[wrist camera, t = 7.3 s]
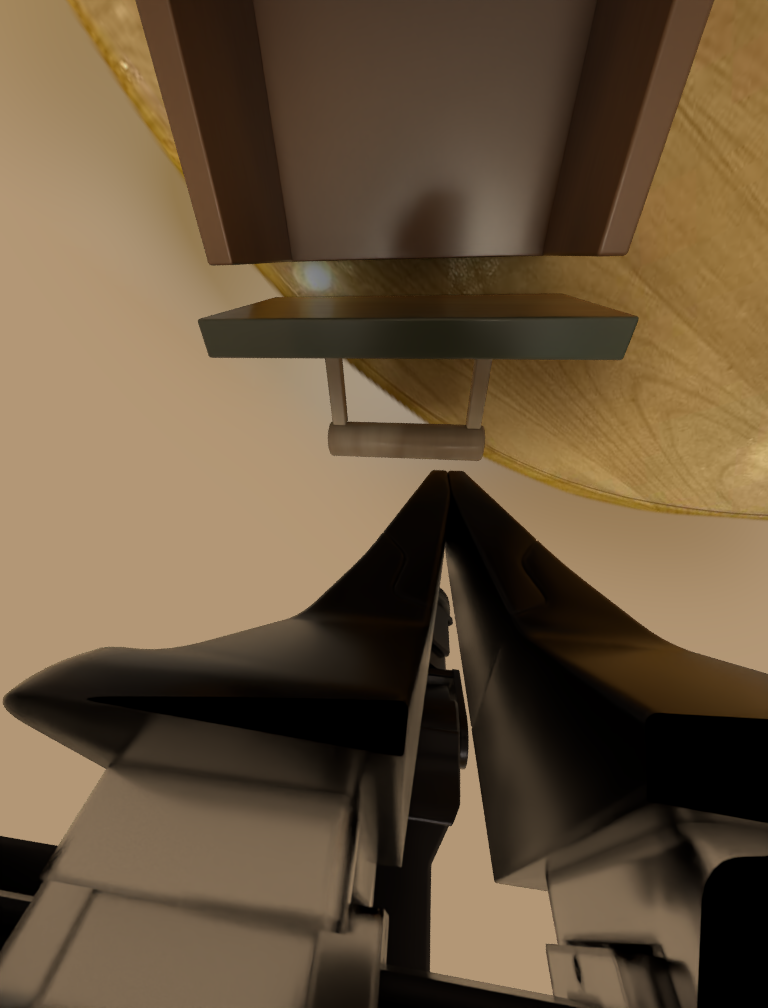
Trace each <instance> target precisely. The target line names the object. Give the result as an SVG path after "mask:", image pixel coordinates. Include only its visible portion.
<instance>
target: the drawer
mask: <svg viewBox="0 0 768 1008" xmlns="http://www.w3.org/2000/svg"><path fill="white" fill-rule="evenodd" d="M713 2H714V0H136V4H137V8H138V11H139V15H140V18H141V22H142V26H143V29H144V33H145V36H146V40H147V44H148V47H149V51H150V54H151V58H152V62H153V65H154V69H155V72H156V76H157V80H158V83H159V87H160V90H161V94H162V98H163V101H164V105H165V108H166V112H167V116H168V119H169V123H170V126H171V130H172V134H173V137H174V141H175V144H176V148H177V152H178V155H179V159H180V162H181V166H182V170H183V173H184V177H185V180H186V184H187V188H188V191H189V195H190V198H191V202H192V206H193V209H194V213H195V216H196V220H197V224H198V227H199V231H200V235H201V238H202V242H203V245H204V249H205V253H206V256H207V260H208V263H209V264H210V265H240V264H258V263H275V262H295V261H337V260H379V259H421V258H463V257H505V256H624V255H626V254H627V253H628V251H629V248H630V245H631V242H632V239H633V236H634V233H635V230H636V227H637V224H638V221H639V218H640V216H641V213H642V210H643V207H644V204H645V201H646V198H647V195H648V192H649V189H650V186H651V183H652V180H653V177H654V175H655V172H656V169H657V166H658V163H659V160H660V157H661V154H662V151H663V148H664V145H665V142H666V139H667V136H668V134H669V131H670V128H671V125H672V122H673V119H674V116H675V113H676V110H677V107H678V104H679V101H680V98H681V95H682V93H683V90H684V87H685V84H686V81H687V78H688V75H689V72H690V69H691V66H692V63H693V60H694V57H695V55H696V52H697V49H698V46H699V43H700V40H701V37H702V34H703V31H704V28H705V25H706V22H707V19H708V16H709V14H710V11H711V8H712V5H713ZM637 322H638V317H637V316H634V315H631V314H628V313H624V312H621V311H618V310H614V309H611V308H608V307H604V306H601V305H598V304H594V303H591V302H588V301H585V300H581V299H578V298H575V297H571V296H568V295H565V294H498V295H420V296H342V297H275V298H272V299H268V300H265V301H261V302H258V303H254V304H250V305H247V306H243V307H240V308H236V309H233V310H229V311H226V312H222V313H219V314H215V315H211V316H208V317H205V318H201V319H199V320H198V323H199V327H200V330H201V333H202V336H203V339H204V342H205V345H206V348H207V351H208V355H209V356H210V357H212V358H325V362H326V370H327V378H328V387H329V395H330V403H331V411H332V420H333V422H331V424H330V426H329V431H328V446H329V450H330V453H331V454H332V455H334V456H335V455H336V456H361V457H388V458H416V459H443V460H444V459H445V460H471V461H479V460H481V458H482V456H483V451H484V445H485V430H484V427H483V426H482V425H481V423H482V417H483V411H484V406H485V400H486V394H487V388H488V382H489V376H490V370H491V364H492V359H510V360H621V359H623V358H624V355H625V353H626V350H627V347H628V345H629V342H630V340H631V337H632V335H633V332H634V330H635V327H636V325H637ZM342 358H351V359H475V360H474V368H473V375H472V382H471V389H470V396H469V404H468V411H467V418H466V425H453V424H414V423H412V424H411V423H376V422H347V421H348V417H347V406H346V396H345V384H344V373H343V364H342V363H343V362H342Z"/></svg>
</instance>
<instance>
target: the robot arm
mask: <svg viewBox="0 0 768 1008" xmlns="http://www.w3.org/2000/svg"><path fill="white" fill-rule="evenodd" d="M444 549H445V551H446V559H447V566H448V573H449V579H450V586H451V593H452V600H453V607H454V613H455V620H456V627H457V633H458V640H459V647H460V654H461V660H462V667H463V674H464V680H465V687H466V694H467V701H468V707H469V714H470V721H471V726H472V735H473V741H474V748H475V755H476V761H477V768H478V775H479V782H480V788H481V795H482V802H483V809H484V815H485V822H486V828H487V835H488V841H489V849H490V855H491V862H492V868H493V875H494V881H495V882H496V883H499V884H505V885H512V886H518V887H524V888H530V889H537V890H544V891H548V894H549V899H550V905H551V910H552V916H553V921H554V926H555V932H556V937H557V943H558V945H556V944H546V954H547V960H548V966H549V972H550V978H551V984H552V989H553V996H552V995H547V994H542V993H537V992H531V991H526V990H521V989H516V988H510V987H505V986H500V985H495V984H490V983H484V982H479V981H474V980H469V979H463V978H458V977H453V976H448V975H442V974H437V973H431V972H430V905H431V900H430V899H431V864H432V862H433V859H434V857H435V855H436V853H437V851H438V848H439V846H440V844H441V842H442V840H443V838H444V835H445V833H446V831H447V829H448V827H449V826H452V824H453V822H454V820H455V817H456V815H457V812H458V809H459V806H460V769H465V768H466V765H467V759H468V723H467V715H466V709H465V703H464V697H463V691H462V685H461V679H460V673H459V670H455V669H452V670H446V665H445V657H447V656H448V655H449V653H450V651H449V631H448V626H450V625H452V624H453V622H452V618H451V617H450V616H449V615H448V613H447V612H446V611H445V610H444V609H443V608H442V607H441V606H440V605H439V604H438V603H437V602H438V594H439V587H440V580H441V572H442V565H443V558H444ZM3 705H4V707H5V708H6V710H7V711H8V712H10V714H12V715H13V716H14V717H15V718H17V719H18V720H20V721H22V722H23V723H25V724H27V725H28V726H30V727H32V728H34V729H35V730H37V731H39V732H41V733H43V734H45V735H46V736H48V737H50V738H52V739H54V740H55V741H57V742H59V743H61V744H62V745H64V746H66V747H68V748H70V749H71V750H73V751H75V752H77V753H79V754H80V755H82V756H84V757H86V758H88V759H89V760H91V761H93V762H95V763H97V764H98V765H100V766H102V767H104V768H105V769H106V770H105V772H104V774H103V775H102V777H101V778H100V780H99V781H98V783H97V785H96V786H95V788H94V790H93V791H92V793H91V794H90V796H89V798H88V799H87V801H86V803H85V804H84V806H83V807H82V809H81V810H80V812H79V813H78V815H77V817H76V818H75V820H74V822H73V823H72V825H71V826H70V828H69V830H68V831H67V833H66V834H65V836H64V837H63V839H62V841H61V842H60V844H59V845H58V846H55V845H49V844H43V843H38V842H32V841H26V840H20V839H14V838H8V837H3V836H0V1008H768V674H766V673H763V672H759V671H756V670H753V669H749V668H746V667H742V666H739V665H735V664H732V663H728V662H725V661H721V660H718V659H715V658H711V657H708V656H704V655H701V654H698V653H694V652H691V651H688V650H686V649H683V648H681V647H678V646H676V645H674V644H672V643H670V642H668V641H666V640H664V639H662V638H660V637H659V636H657V635H655V634H654V633H652V632H651V631H649V630H648V629H647V628H645V627H644V626H642V625H641V624H640V623H638V622H637V621H636V620H634V619H633V618H632V617H631V616H629V615H628V614H627V613H625V612H624V611H623V610H622V609H620V608H619V607H618V606H616V605H615V604H614V603H612V602H611V601H610V600H609V599H607V598H606V597H605V596H603V595H602V594H601V593H600V592H598V591H597V590H596V589H594V588H593V587H592V586H590V585H589V584H588V583H587V582H585V581H584V580H583V579H581V578H580V577H579V576H578V575H577V574H575V573H574V572H573V571H572V570H570V569H569V568H568V567H567V566H565V565H564V564H563V563H562V562H561V561H560V560H558V559H557V558H556V557H555V556H554V555H553V554H552V553H551V552H550V551H548V550H547V549H546V548H545V547H544V546H543V545H542V544H541V543H540V542H539V541H536V539H535V538H534V537H533V536H532V535H531V534H530V533H529V532H528V531H527V530H526V529H525V528H524V527H523V526H521V525H520V524H519V523H518V522H517V521H516V520H515V519H514V518H513V517H512V516H511V515H509V513H507V512H506V511H505V510H504V509H503V508H502V507H501V506H500V505H499V504H498V503H497V502H496V501H495V500H494V499H493V498H491V497H490V496H489V495H488V494H487V493H486V492H485V491H484V490H483V489H482V488H481V487H480V486H479V485H478V484H476V483H475V482H474V481H473V480H472V479H471V478H470V477H469V476H468V475H467V474H466V473H465V472H463V471H449V472H448V473H447V472H446V471H443V470H442V471H441V470H433V471H431V472H430V474H429V475H428V476H427V477H426V479H425V480H424V481H423V483H422V484H421V485H420V486H419V488H418V489H417V490H416V491H415V493H414V494H413V495H412V497H411V498H410V499H409V500H408V502H407V503H406V504H405V505H404V507H403V508H402V509H401V510H400V512H399V513H398V514H397V516H396V517H395V518H394V520H393V521H392V522H391V523H390V525H389V526H388V527H387V528H386V530H385V531H384V533H382V534H381V536H380V537H379V538H378V539H377V541H376V542H375V543H374V544H373V545H372V547H371V548H370V549H369V550H368V551H367V553H366V554H365V555H364V556H363V557H362V558H361V559H360V560H359V561H358V562H357V563H356V564H355V565H354V566H353V567H352V568H351V569H350V570H349V571H347V572H346V573H345V574H344V575H343V576H342V577H341V578H340V579H339V580H338V581H337V582H336V583H335V584H334V585H333V586H332V587H331V588H329V589H328V590H327V591H326V592H325V593H324V594H323V595H322V596H321V597H320V598H319V599H318V600H317V601H316V602H314V603H313V604H312V605H311V606H310V607H308V608H307V609H306V610H304V611H303V612H301V613H299V614H298V615H296V616H294V617H291V618H289V619H286V620H282V621H278V622H274V623H271V624H267V625H264V626H260V627H256V628H253V629H249V630H245V631H241V632H238V633H234V634H230V635H227V636H223V637H219V638H216V639H212V640H208V641H205V642H201V643H196V644H192V645H187V646H182V647H175V648H167V649H136V648H126V647H105V648H99V649H96V650H92V651H89V652H86V653H83V654H79V655H77V656H74V657H71V658H68V659H66V660H63V661H61V662H58V663H56V664H54V665H51V666H49V667H47V668H45V669H44V670H42V671H40V672H38V673H36V674H34V675H32V676H31V677H29V678H28V679H26V680H24V681H23V682H22V683H20V684H19V685H18V686H16V687H15V688H13V689H12V690H11V691H9V692H8V693H7V694H6V695H5V696H4V697H3Z"/></svg>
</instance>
